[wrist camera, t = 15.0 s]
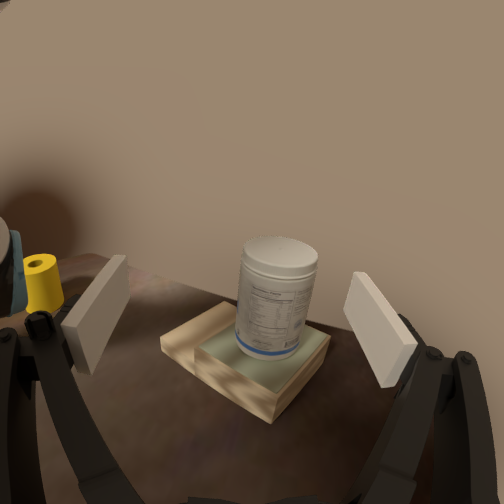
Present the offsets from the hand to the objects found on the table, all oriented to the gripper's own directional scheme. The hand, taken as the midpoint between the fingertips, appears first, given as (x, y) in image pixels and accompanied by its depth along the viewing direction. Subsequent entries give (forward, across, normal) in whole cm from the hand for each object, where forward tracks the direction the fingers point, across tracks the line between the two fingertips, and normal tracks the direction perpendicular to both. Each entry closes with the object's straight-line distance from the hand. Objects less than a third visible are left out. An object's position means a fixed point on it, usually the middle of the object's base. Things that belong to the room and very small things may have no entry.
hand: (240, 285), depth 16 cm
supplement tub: (+18, +6, -20) cm, 28 cm away
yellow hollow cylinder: (+31, -41, -27) cm, 58 cm away
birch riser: (+21, +3, -26) cm, 34 cm away
